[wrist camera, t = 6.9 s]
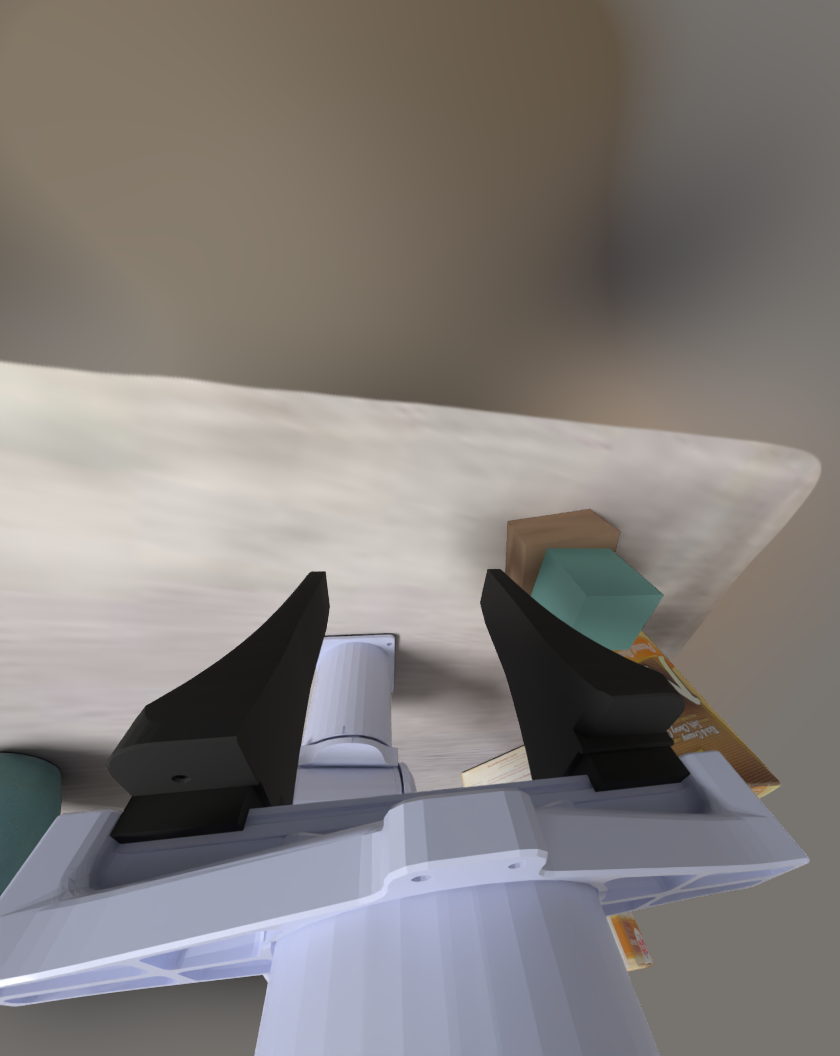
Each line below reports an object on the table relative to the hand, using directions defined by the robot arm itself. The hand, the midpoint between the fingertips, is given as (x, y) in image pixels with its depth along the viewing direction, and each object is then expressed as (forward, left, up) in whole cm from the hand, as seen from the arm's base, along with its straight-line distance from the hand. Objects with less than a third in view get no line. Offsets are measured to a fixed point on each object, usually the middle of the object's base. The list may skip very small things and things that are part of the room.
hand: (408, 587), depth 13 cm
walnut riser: (-5, -13, -11) cm, 18 cm away
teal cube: (-5, -13, -7) cm, 16 cm away
